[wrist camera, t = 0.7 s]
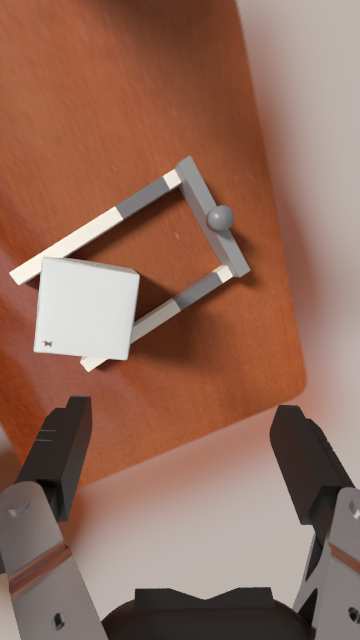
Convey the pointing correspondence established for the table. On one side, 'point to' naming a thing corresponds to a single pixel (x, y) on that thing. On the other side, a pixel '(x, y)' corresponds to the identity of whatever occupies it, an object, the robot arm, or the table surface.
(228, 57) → the table surface
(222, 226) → the guide channel
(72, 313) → the supplement box
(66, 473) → the robot arm
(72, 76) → the table surface
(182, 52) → the table surface
